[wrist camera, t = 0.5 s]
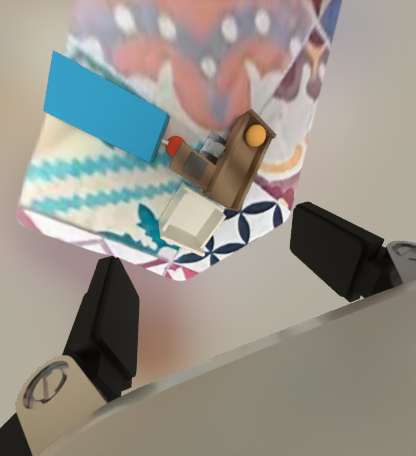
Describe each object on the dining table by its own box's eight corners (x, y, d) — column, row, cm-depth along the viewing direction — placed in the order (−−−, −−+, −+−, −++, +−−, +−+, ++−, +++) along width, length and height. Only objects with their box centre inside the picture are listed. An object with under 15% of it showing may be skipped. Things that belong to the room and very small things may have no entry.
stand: (212, 130, 33) (223, 131, 28) (250, 163, 38) (265, 168, 33) (196, 155, 34) (204, 160, 29) (235, 184, 39) (247, 192, 34)
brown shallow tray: (204, 91, 29) (219, 74, 25) (257, 142, 35) (276, 135, 31) (164, 171, 28) (174, 166, 24) (226, 209, 34) (242, 211, 30)
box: (182, 181, 36) (190, 193, 30) (219, 204, 40) (232, 218, 34) (158, 220, 38) (160, 238, 32) (195, 238, 42) (203, 256, 36)
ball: (247, 122, 31) (260, 117, 28) (260, 134, 32) (273, 131, 29) (238, 139, 31) (249, 137, 28) (251, 151, 32) (263, 150, 30)
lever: (76, 119, 31) (178, 170, 34) (43, 110, 24) (173, 174, 28) (87, 73, 29) (194, 132, 32) (53, 50, 22) (192, 127, 26)
